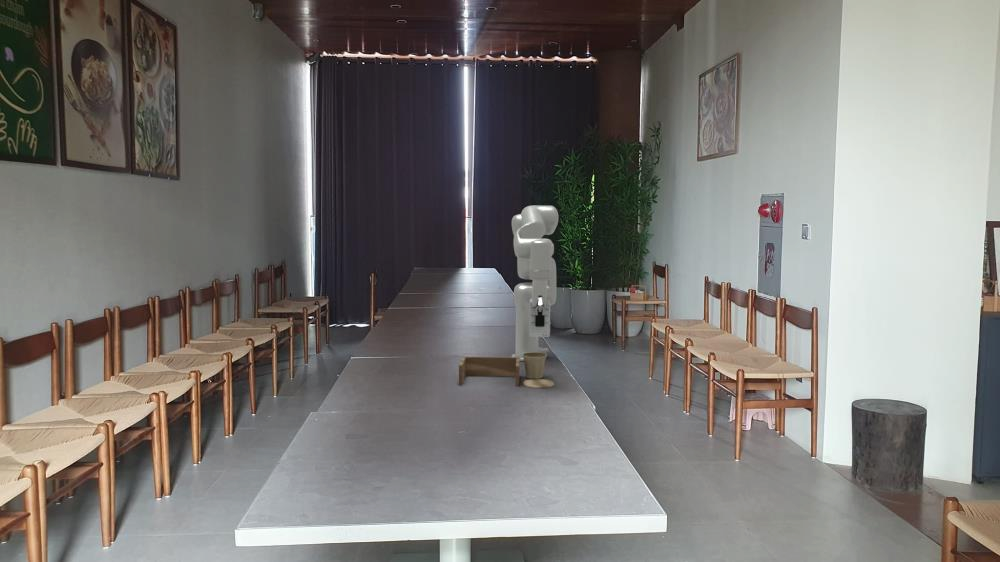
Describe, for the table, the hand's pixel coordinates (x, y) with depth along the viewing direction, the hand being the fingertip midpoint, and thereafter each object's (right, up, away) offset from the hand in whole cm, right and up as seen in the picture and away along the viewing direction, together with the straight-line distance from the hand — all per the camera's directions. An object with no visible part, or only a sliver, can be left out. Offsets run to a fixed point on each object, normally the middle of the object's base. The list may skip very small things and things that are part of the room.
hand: (539, 324), depth 267 cm
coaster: (0, -22, +2) cm, 22 cm away
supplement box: (0, -4, 0) cm, 4 cm away
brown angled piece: (-18, -21, +8) cm, 29 cm away
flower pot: (-1, -21, +13) cm, 25 cm away
